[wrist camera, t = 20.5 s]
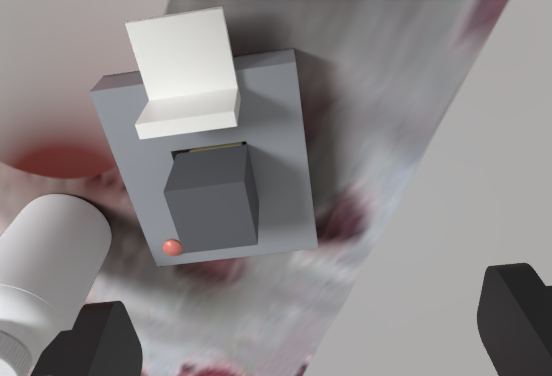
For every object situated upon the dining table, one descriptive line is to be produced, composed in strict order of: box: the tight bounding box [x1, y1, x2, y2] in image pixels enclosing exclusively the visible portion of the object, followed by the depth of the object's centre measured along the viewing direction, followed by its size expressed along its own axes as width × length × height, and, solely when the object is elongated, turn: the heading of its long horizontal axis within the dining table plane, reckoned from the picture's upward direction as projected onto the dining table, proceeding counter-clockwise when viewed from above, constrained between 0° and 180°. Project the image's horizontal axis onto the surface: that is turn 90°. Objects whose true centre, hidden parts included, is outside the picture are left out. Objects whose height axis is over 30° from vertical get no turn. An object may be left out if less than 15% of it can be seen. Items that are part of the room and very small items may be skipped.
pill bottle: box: [0, 194, 112, 376], centre depth 34 cm, size 8×8×15 cm
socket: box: [89, 48, 318, 267], centre depth 35 cm, size 14×16×4 cm
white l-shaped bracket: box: [125, 6, 241, 139], centre depth 27 cm, size 6×6×4 cm
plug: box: [163, 142, 259, 254], centre depth 33 cm, size 5×5×8 cm
